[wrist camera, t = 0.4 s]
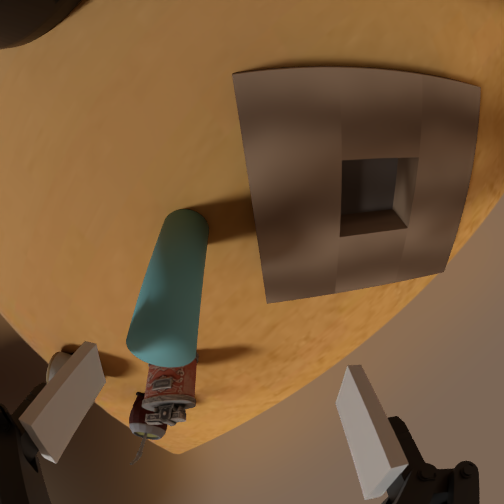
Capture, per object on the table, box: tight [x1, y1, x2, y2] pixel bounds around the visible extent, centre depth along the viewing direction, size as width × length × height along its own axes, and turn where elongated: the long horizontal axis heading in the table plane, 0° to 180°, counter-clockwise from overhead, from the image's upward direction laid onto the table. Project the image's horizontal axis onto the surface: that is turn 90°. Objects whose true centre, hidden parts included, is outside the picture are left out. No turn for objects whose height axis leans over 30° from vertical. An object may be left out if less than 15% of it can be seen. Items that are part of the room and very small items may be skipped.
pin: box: [126, 209, 209, 367], centre depth 19 cm, size 4×4×12 cm
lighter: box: [142, 352, 198, 426], centre depth 33 cm, size 8×3×10 cm, turn 115°
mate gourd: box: [129, 392, 167, 465], centre depth 40 cm, size 8×8×15 cm
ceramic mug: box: [46, 352, 95, 408], centre depth 36 cm, size 11×8×8 cm
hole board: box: [232, 66, 481, 303], centre depth 20 cm, size 18×18×4 cm
